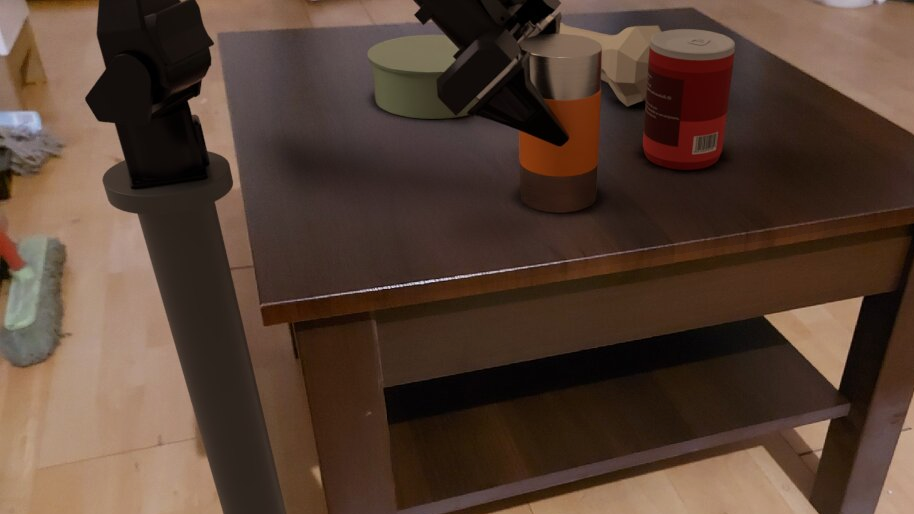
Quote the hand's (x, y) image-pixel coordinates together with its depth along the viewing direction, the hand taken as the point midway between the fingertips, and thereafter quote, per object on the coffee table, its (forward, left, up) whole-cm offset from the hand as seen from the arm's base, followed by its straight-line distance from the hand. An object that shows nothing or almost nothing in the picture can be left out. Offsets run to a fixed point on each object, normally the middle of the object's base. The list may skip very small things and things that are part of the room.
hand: (575, 123), depth 72 cm
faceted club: (+16, +29, -7) cm, 34 cm away
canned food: (+14, +5, -7) cm, 16 cm away
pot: (-3, +29, -7) cm, 30 cm away
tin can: (-1, +1, -7) cm, 7 cm away
